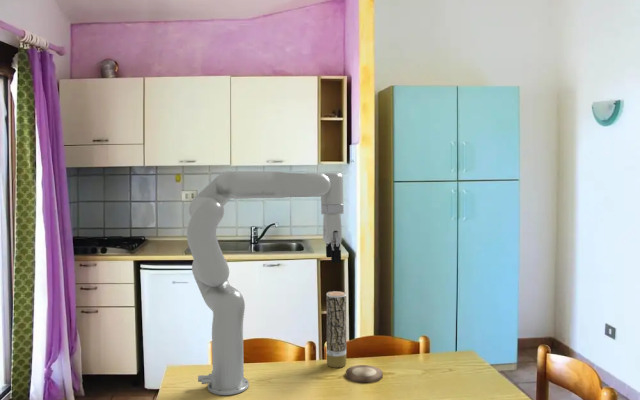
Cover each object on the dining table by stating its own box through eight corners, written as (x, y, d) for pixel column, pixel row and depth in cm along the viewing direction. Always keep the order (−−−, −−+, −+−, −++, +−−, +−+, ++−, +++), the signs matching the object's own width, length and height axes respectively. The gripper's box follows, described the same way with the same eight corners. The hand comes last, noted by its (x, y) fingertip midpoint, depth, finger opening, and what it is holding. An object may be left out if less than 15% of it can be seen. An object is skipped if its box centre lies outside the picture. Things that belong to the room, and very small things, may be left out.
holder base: (350, 384, 168) (350, 380, 167) (342, 370, 179) (342, 366, 179) (387, 381, 170) (387, 377, 170) (376, 367, 181) (376, 363, 181)
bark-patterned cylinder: (344, 369, 180) (344, 296, 178) (325, 367, 181) (324, 295, 180) (347, 361, 187) (347, 291, 185) (328, 360, 188) (328, 290, 186)
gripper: (317, 207, 187) (318, 255, 188) (325, 212, 170) (327, 265, 171) (338, 206, 188) (339, 254, 189) (348, 211, 171) (349, 263, 172)
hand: (333, 259), depth 180 cm, fingers open, 9 cm apart
